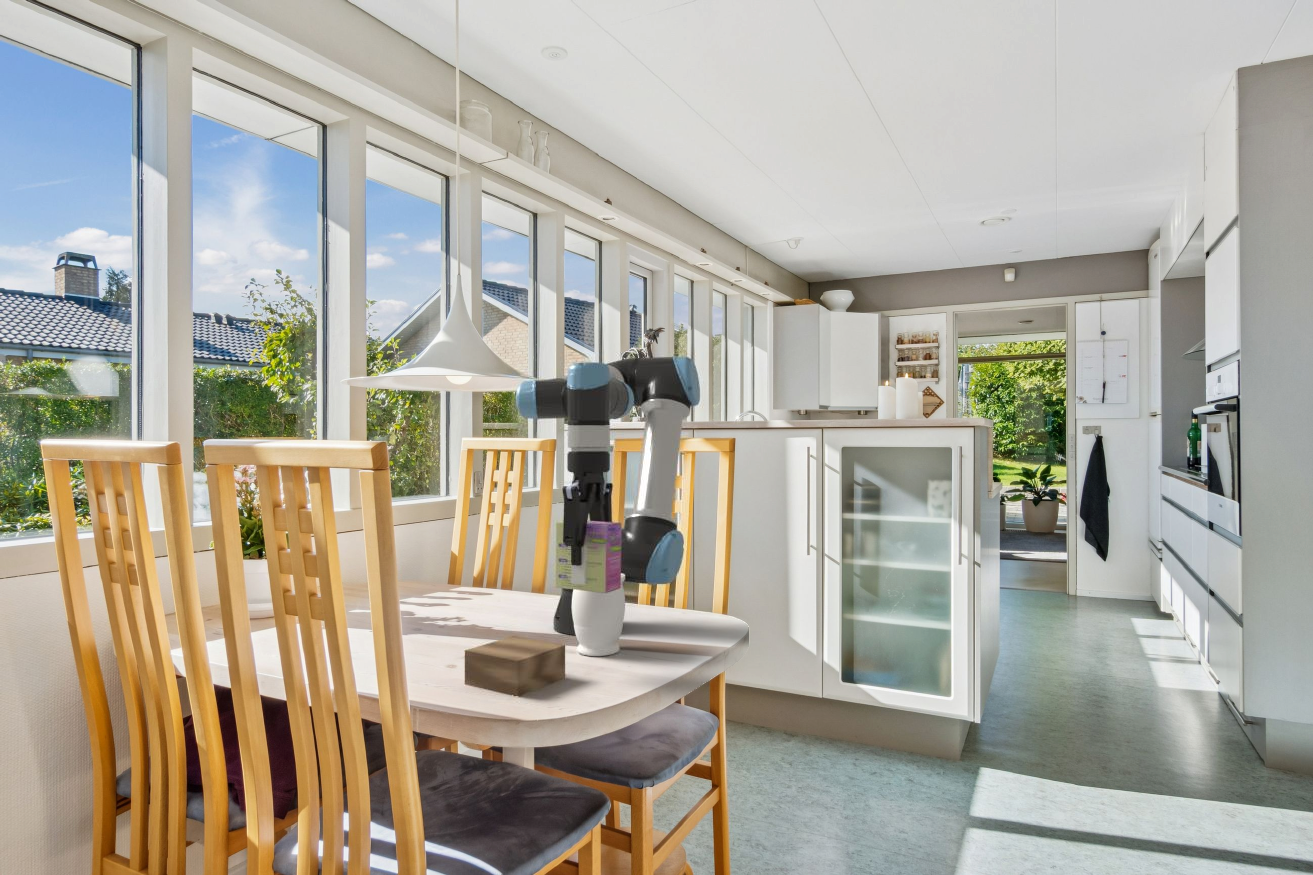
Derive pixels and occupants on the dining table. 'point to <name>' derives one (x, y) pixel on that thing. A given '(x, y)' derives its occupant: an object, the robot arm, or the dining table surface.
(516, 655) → the base block
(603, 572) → the box
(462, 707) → the dining table surface
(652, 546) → the robot arm
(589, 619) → the jar
